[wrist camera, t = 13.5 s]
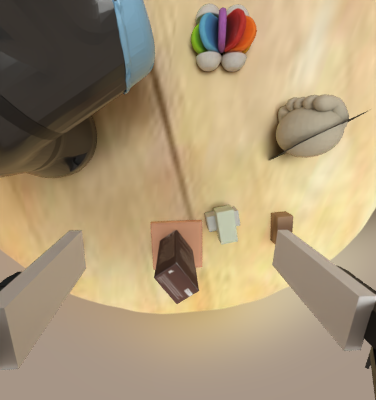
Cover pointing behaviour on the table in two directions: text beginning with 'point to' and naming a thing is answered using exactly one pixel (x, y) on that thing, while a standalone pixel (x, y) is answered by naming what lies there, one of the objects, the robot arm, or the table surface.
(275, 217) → the walnut brick
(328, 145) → the decorative object
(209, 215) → the grey brick
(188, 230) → the tile
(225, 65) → the rainbow disc rolling toy
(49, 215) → the table surface
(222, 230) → the pale green brick
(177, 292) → the box
